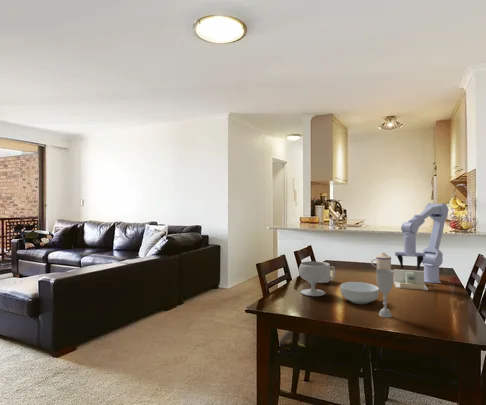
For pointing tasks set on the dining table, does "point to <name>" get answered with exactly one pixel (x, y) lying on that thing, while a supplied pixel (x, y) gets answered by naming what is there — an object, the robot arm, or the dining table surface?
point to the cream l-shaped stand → (400, 283)
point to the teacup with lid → (383, 261)
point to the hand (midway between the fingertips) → (410, 269)
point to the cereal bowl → (359, 292)
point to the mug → (327, 273)
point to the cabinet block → (410, 278)
